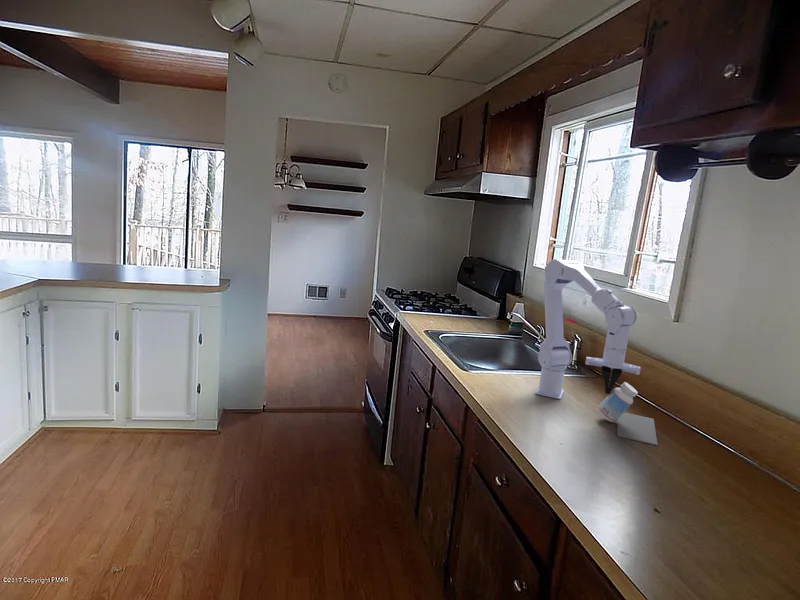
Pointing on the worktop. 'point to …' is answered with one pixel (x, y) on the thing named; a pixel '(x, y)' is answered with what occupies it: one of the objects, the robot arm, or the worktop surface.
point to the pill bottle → (617, 402)
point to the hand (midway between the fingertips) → (607, 392)
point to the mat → (637, 428)
